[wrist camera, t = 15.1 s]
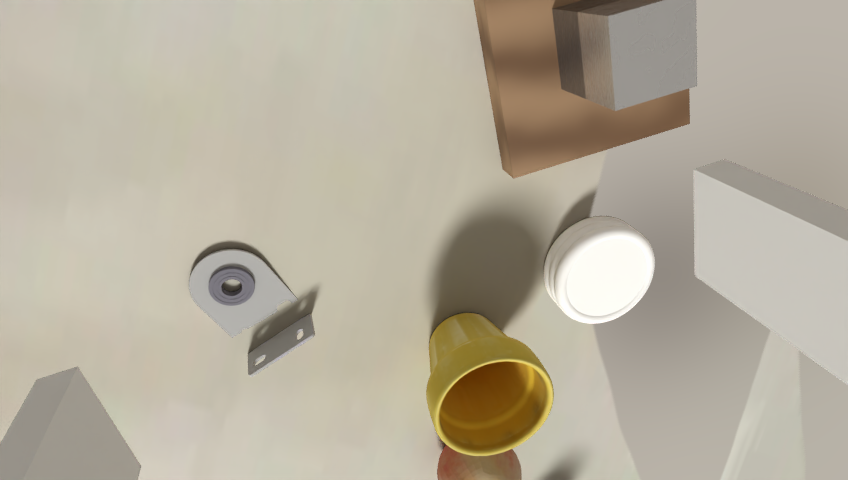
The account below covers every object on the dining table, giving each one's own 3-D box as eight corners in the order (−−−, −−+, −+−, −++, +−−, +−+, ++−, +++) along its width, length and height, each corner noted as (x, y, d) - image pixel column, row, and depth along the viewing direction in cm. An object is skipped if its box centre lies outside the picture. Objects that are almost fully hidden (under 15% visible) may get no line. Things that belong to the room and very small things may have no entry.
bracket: (239, 230, 47) (237, 248, 44) (312, 314, 52) (315, 336, 49) (172, 274, 47) (165, 295, 44) (251, 354, 52) (250, 378, 49)
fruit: (468, 402, 60) (495, 460, 53) (516, 435, 63) (548, 493, 56) (414, 453, 61) (434, 517, 54) (465, 483, 64) (489, 546, 57)
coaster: (625, 303, 60) (645, 321, 57) (534, 310, 57) (550, 330, 54) (645, 211, 56) (668, 226, 52) (549, 215, 53) (566, 231, 50)
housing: (551, 8, 43) (608, 16, 36) (626, -13, 43) (695, -9, 36) (561, 89, 46) (615, 110, 38) (631, 68, 46) (697, 85, 39)
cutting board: (462, -63, 42) (473, -65, 40) (665, -115, 44) (686, -120, 41) (502, 169, 50) (513, 178, 48) (671, 117, 52) (689, 123, 50)
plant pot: (435, 403, 59) (463, 477, 50) (390, 329, 54) (413, 397, 45) (526, 354, 59) (570, 420, 50) (489, 276, 54) (531, 334, 45)
